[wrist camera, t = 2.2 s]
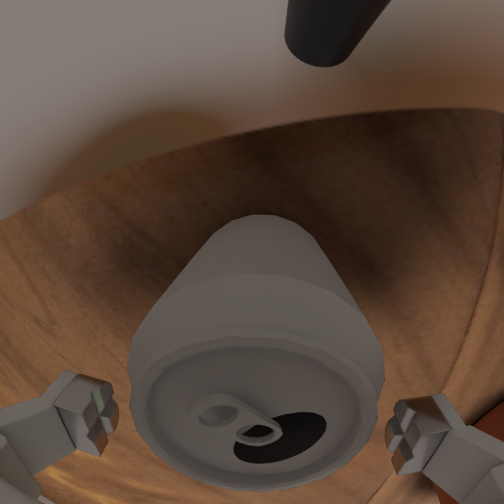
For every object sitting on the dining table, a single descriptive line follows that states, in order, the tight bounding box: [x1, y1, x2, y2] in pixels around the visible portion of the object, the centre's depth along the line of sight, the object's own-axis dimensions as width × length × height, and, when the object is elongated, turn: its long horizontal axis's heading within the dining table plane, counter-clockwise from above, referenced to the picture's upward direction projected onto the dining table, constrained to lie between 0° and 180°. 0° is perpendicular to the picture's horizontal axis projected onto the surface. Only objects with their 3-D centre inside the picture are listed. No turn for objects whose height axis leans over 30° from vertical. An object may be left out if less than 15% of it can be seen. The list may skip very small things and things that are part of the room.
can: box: [127, 215, 385, 492], centre depth 12 cm, size 8×8×12 cm
